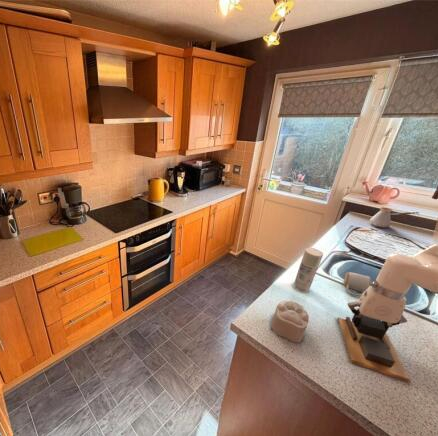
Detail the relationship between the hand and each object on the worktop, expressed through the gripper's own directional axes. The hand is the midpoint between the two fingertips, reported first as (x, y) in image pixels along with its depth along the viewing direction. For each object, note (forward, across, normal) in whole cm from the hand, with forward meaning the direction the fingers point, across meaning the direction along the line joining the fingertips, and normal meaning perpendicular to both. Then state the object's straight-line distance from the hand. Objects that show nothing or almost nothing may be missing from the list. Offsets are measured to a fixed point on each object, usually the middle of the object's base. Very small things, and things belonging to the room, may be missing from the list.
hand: (367, 327), depth 83 cm
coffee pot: (+4, +44, +119) cm, 127 cm away
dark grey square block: (+1, 0, 0) cm, 1 cm away
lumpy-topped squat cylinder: (+4, -25, -8) cm, 27 cm away
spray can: (+4, -18, +19) cm, 27 cm away
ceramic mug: (+4, +4, +28) cm, 29 cm away
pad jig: (+4, 0, -6) cm, 7 cm away
